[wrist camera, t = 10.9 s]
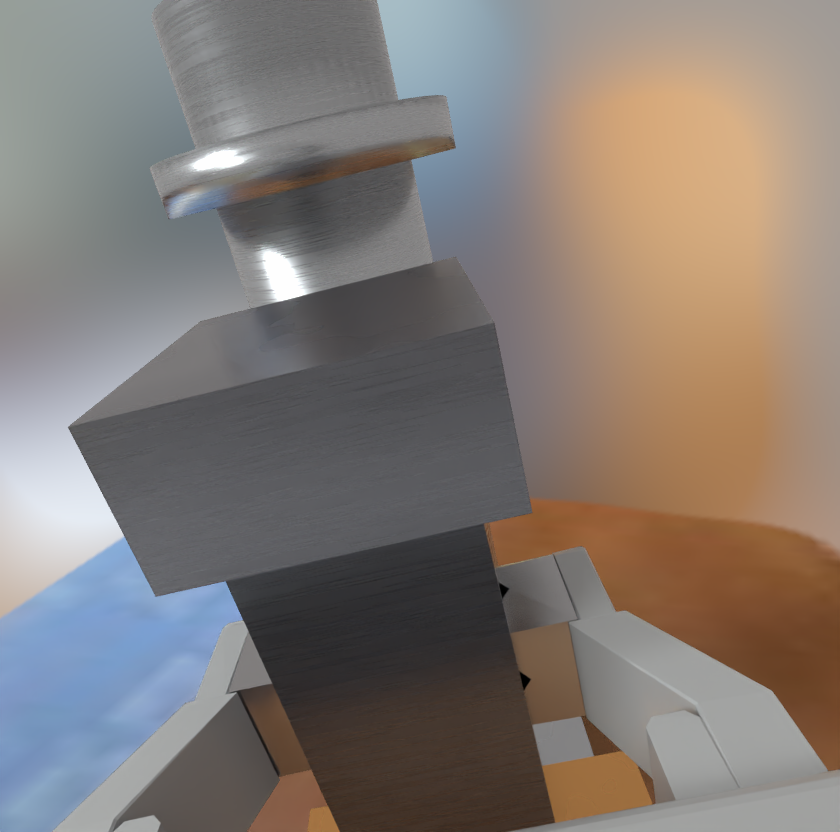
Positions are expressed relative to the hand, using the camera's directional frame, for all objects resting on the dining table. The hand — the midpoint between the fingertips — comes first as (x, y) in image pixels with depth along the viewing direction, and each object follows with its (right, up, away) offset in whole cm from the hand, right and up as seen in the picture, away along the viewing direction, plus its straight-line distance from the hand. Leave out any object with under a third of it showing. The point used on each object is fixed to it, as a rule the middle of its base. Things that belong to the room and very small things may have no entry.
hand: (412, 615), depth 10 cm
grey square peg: (+2, -6, +2) cm, 7 cm away
